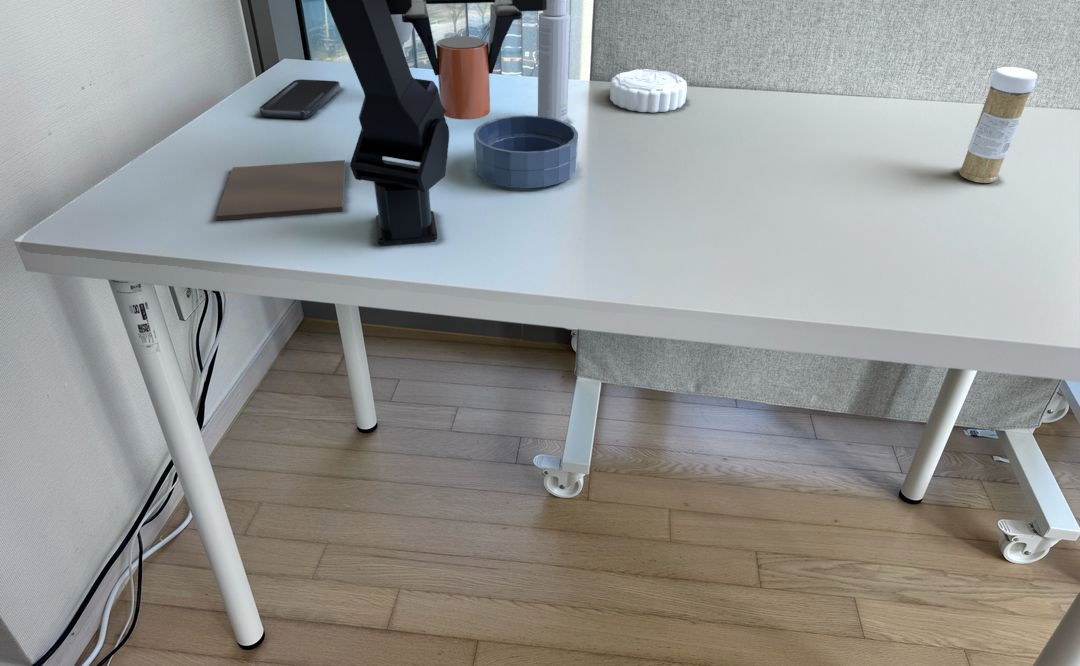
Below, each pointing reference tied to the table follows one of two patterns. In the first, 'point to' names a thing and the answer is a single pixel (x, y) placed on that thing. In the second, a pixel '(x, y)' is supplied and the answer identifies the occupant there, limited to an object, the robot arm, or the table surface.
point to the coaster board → (283, 190)
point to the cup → (464, 77)
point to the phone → (300, 99)
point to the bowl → (525, 151)
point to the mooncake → (648, 90)
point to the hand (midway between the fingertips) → (463, 73)
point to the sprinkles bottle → (997, 123)
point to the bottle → (553, 60)
